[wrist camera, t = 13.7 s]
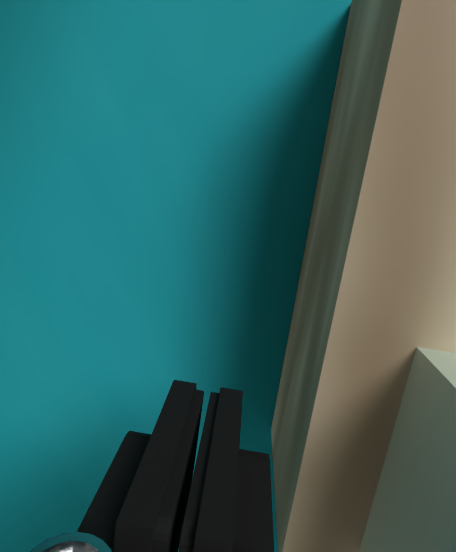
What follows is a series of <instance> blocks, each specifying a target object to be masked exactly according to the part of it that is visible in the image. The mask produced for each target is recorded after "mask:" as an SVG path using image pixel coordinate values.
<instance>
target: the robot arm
mask: <svg viewBox="0 0 456 552" xmlns="http://www.w3.org/2000/svg"><path fill="white" fill-rule="evenodd" d="M203 396H204V391H201V390H196V383H190V382H184V381H178V380H174V381H173V383H172V386H171V388H170V391H169V393H168V396H167V398H166V401H165V403H164V405H163V408H162V410H161V413H160V415H159V418H158V420H157V423H156V425H155V428H154V430H153V433H152V435H151V434H145V433H139V432H133V431H129V432H128V433H127V434H126V436H125V438H124V440H123V442H122V444H121V446H120V448H119V450H118V452H117V454H116V455H115V457H114V459H113V461H112V463H111V465H110V467H109V469H108V471H107V473H106V475H105V477H104V479H103V481H102V483H101V485H100V487H99V489H98V491H97V493H96V495H95V497H94V499H93V501H92V503H91V505H90V507H89V509H88V511H87V513H86V515H85V517H84V519H83V521H82V523H81V525H80V527H79V529H78V531H77V532H72V533H63V534H60V535H57V536H55V537H52V538H49V539H47V540H45V541H44V542H42V543H41V544H39V545H37V546H36V547H34V548H33V549H32V550H31V551H30V552H178V549H179V552H274V541H273V520H272V498H271V477H270V459H269V454H265V453H259V452H253V451H247V450H241V449H239V443H240V428H241V412H242V396H243V391H240V390H234V389H227V388H221V389H220V393H213V392H211V394H210V399H209V404H208V408H207V413H206V418H205V423H204V427H203V432H202V437H201V441H200V446H199V451H198V456H197V460H196V465H195V470H194V463H195V455H196V448H197V441H198V433H199V426H200V419H201V411H202V404H203ZM193 470H194V475H193ZM192 477H193V479H192ZM179 544H180V546H179Z"/></svg>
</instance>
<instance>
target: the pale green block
mask: <svg viewBox="0 0 456 552" xmlns="http://www.w3.org/2000/svg"><path fill="white" fill-rule="evenodd" d="M359 551H360V552H456V353H453V352H446V351H440V350H433V349H427V348H420V347H417V348H416V351H415V355H414V358H413V362H412V365H411V369H410V373H409V376H408V380H407V383H406V387H405V390H404V394H403V397H402V401H401V404H400V408H399V412H398V415H397V419H396V422H395V426H394V429H393V433H392V436H391V440H390V443H389V447H388V451H387V454H386V458H385V461H384V465H383V468H382V472H381V475H380V479H379V482H378V486H377V490H376V493H375V497H374V500H373V504H372V507H371V511H370V514H369V518H368V521H367V525H366V529H365V532H364V536H363V539H362V543H361V546H360V550H359Z"/></svg>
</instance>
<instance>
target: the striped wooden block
mask: <svg viewBox="0 0 456 552" xmlns="http://www.w3.org/2000/svg"><path fill="white" fill-rule="evenodd" d="M417 347H420V348H427V349H433V350H440V351H446V352H453V353H456V0H353V1H352V2H351V6H350V11H349V17H348V22H347V27H346V33H345V38H344V43H343V49H342V54H341V59H340V65H339V70H338V75H337V80H336V86H335V91H334V96H333V102H332V107H331V112H330V118H329V123H328V128H327V134H326V139H325V144H324V150H323V155H322V160H321V166H320V171H319V176H318V182H317V187H316V192H315V198H314V203H313V208H312V214H311V219H310V224H309V230H308V235H307V240H306V246H305V251H304V256H303V262H302V267H301V272H300V278H299V283H298V288H297V293H296V299H295V304H294V309H293V315H292V320H291V325H290V331H289V336H288V341H287V347H286V352H285V357H284V363H283V368H282V373H281V379H280V384H279V389H278V395H277V400H276V405H275V411H274V416H273V421H272V427H271V438H272V455H273V472H274V489H275V505H276V522H277V539H278V552H360V551H359V550H360V546H361V543H362V539H363V536H364V532H365V529H366V525H367V521H368V518H369V514H370V511H371V507H372V504H373V500H374V497H375V493H376V490H377V486H378V482H379V479H380V475H381V472H382V468H383V465H384V461H385V458H386V454H387V451H388V447H389V443H390V440H391V436H392V433H393V429H394V426H395V422H396V419H397V415H398V412H399V408H400V404H401V401H402V397H403V394H404V390H405V387H406V383H407V380H408V376H409V373H410V369H411V365H412V362H413V358H414V355H415V351H416V348H417Z"/></svg>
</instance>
